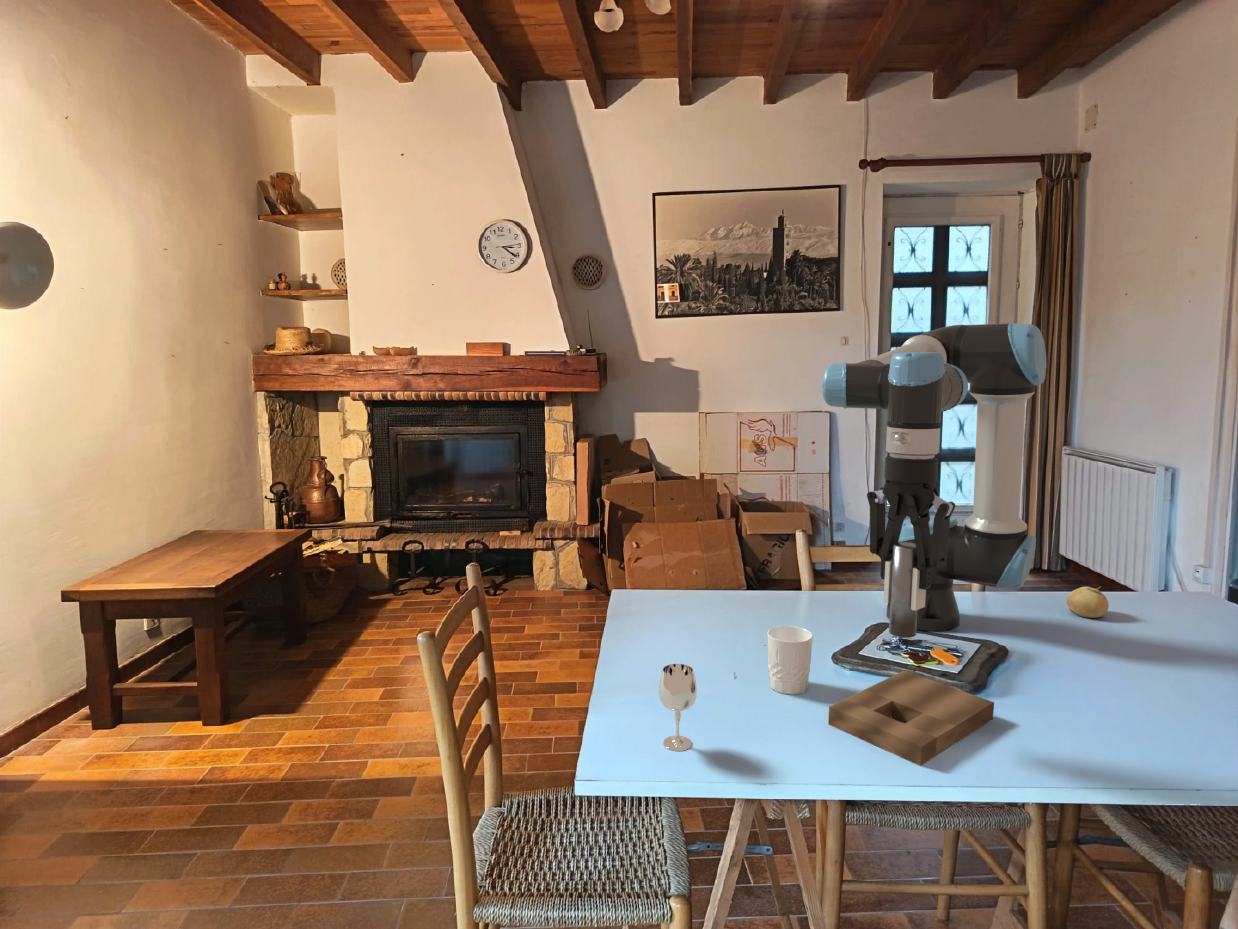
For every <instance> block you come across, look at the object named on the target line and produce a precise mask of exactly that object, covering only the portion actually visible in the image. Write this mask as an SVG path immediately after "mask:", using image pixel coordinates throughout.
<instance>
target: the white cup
mask: <svg viewBox="0 0 1238 929" xmlns="http://www.w3.org/2000/svg"><path fill="white" fill-rule="evenodd" d="M766 632H767V633H766V634H767V663H768V664H767V665H768V673H769V674H768V675H769V676H768V678H769V687H770V688H771V689H772V690H773V691H775V692H777V693H780V694H785V695H800V694H803V693H805V692H806V691H808V689H809V679H810V677H809V676H810V671H811V662H812V649H813V638H814V636H813V633H812V632H811V631H810V630H808V629H806V628H803V627H800V626H796V625H795V626H793V625H778V626H773V627H771V628H769V629H768V630H767V631H766Z"/></svg>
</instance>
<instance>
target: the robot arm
mask: <svg viewBox="0 0 1238 929" xmlns="http://www.w3.org/2000/svg"><path fill="white" fill-rule="evenodd" d="M1045 344H1046V343H1045V341H1044V337H1043V334H1042V332H1041V330H1040V328H1038V327H1037V325H1035V324H1030V323H1016V322H1009V323H987V324H955V325H949V326H944V327H939V328H936V329H932V330H928V331H926V332H924V333H923V332H922V333H920V334H918V335H914V336H911V337H910V338H908V339H907V340H906V341H904V342H903V344H902V345H901V346H900V347H897V348H894V349H892V350H890V351H886V352H884V353H881V354H878V355H876V356H874V357H873V356H872V357H871V358H868V359H865V360H861V361H859V362H856V363H855V362H854V363H853V362H852V363H850V362H849V363H848V362H843V363H831V364H830V365H829V366H827V367H826V368H825V371H824V373H823V376H822V379H821V394H822V398H823V400H824V402H825V404H827V405H828V406H830V407H834V408H835V407H837V408H843V409H847V408H849V409H873V410H874V409H875V410H876V409H877V410H878V409H879V410H887V420H886V442H885V451H886V452H887V453H888V454H887V455H886V457H885V459H884V478H885V483H884V485H883V487H882V489H879V490H878V489H877V490H873V491H868V492H867V493H866V499H867V501H868V504H869V552H870V553H871V554H872V555H874V554H875V555H877V557H879V559H880V575H879V576H880V579H881V580H884V584H883V585H884V587H883V603H887V605H886V617H887V619H889V618H890V598H891V578H892V558H893V544H894V543H898V542H907V543H914V544H915V545H916V553H917V560H918V566H916V567H915V568H913V578H912V597H911V610H914V611H916V610H917V628H916V630H919V629H920V630H919V631H929V632H941V631H949V630H953V629H955V628H957V627H958V626H959V625H960V617H961V616H960V615H961V614H960V610H959V606H958V602H957V599H956V597H955V592H954V588H953V587H954V581H960V582H965V583H969V584H970V583H971V584H976V585H980V586H985V587H992V588H996V589H1000V588H1001V589H1004V590H1005V589H1006V590H1007V589H1008V590H1014V591H1015V590H1019V589H1020V588H1022V587H1023V586H1024V584H1025V583H1026V582H1027V579H1028V576H1029V574H1030V571H1031V569H1032V565H1033V561H1034V558H1035V553H1036V546H1037V543H1036V542H1037V539H1036V537H1035V536H1034V535H1032V534H1030V533H1029V534H1028V524H1027V523H1026V522H1025V521H1024V520H1023V519H1022V518H1021V516H1020V512H1021V511H1020V507H1021V493H1022V492H1021V491H1022V474H1023V473H1022V472H1023V458H1024V457H1023V456H1024V455H1023V454H1024V452H1023V451H1024V437H1025V435H1024V434H1025V416H1026V415H1025V414H1026V402H1027V400H1028V399H1030V397H1033V395H1034V394H1035V393H1036V392H1035V391H1036V386H1038V385H1042V384H1043V383H1044V382H1045V379H1046V376H1047V374H1046V373H1047V372H1046V370H1047V353H1046V345H1045ZM968 390H969V394H970V395H971V396H972V397H973V398H974V399H975V400H976V401H977V403H976V404H977V408H976V430H975V433H976V434H975V451H974V452H975V454H974V456H975V457H974V481H973V482H974V484H973V508H972V514H971V515H970V516H968V517H967V518H966V519H965V520H964V526H962V525H958V522H959V521H957V518H956V517H954V516H952V514H953V513H954V512H955V509H956V504H955V502H953V501H947V500H944V498H941V497H940V496H939V493H938V492H939V491H938V490H937V483H938V476H939V461H940V460H939V459H938V458H937V457H936V455H938V454H940V443H941V420H942V413H943V412H947V411H950V410H951V409H954V408H955V407H958V406H959V405H960V404H961V403H962V402H963V401H964V400H965V398H966V397H967V394H968ZM886 501H887V503H888V505H889V508H888V512H886V508H887V507H886ZM933 506H934V508H933V512H934V513H935V514H934V515H930V509H931V508H932V507H933ZM886 513H887V517H886ZM907 517H908V518H907ZM886 518H887V523H886ZM906 518H907V519H906Z"/></svg>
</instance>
